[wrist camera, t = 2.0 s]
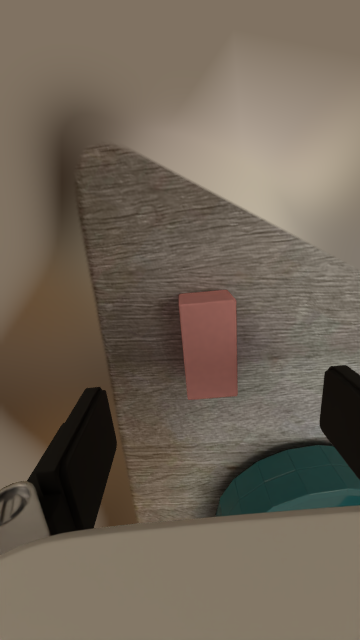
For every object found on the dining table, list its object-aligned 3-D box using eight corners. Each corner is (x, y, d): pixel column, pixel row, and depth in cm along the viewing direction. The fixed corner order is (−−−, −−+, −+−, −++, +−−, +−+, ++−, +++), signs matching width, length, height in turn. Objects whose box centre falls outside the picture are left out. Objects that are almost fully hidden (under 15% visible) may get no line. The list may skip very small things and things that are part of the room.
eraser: (178, 293, 15) (178, 304, 13) (227, 289, 15) (236, 299, 13) (186, 377, 17) (187, 400, 15) (229, 373, 17) (237, 396, 15)
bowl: (274, 413, 18) (299, 460, 14) (429, 474, 20) (487, 529, 17) (186, 535, 23) (188, 595, 19) (321, 574, 25) (347, 635, 21)
